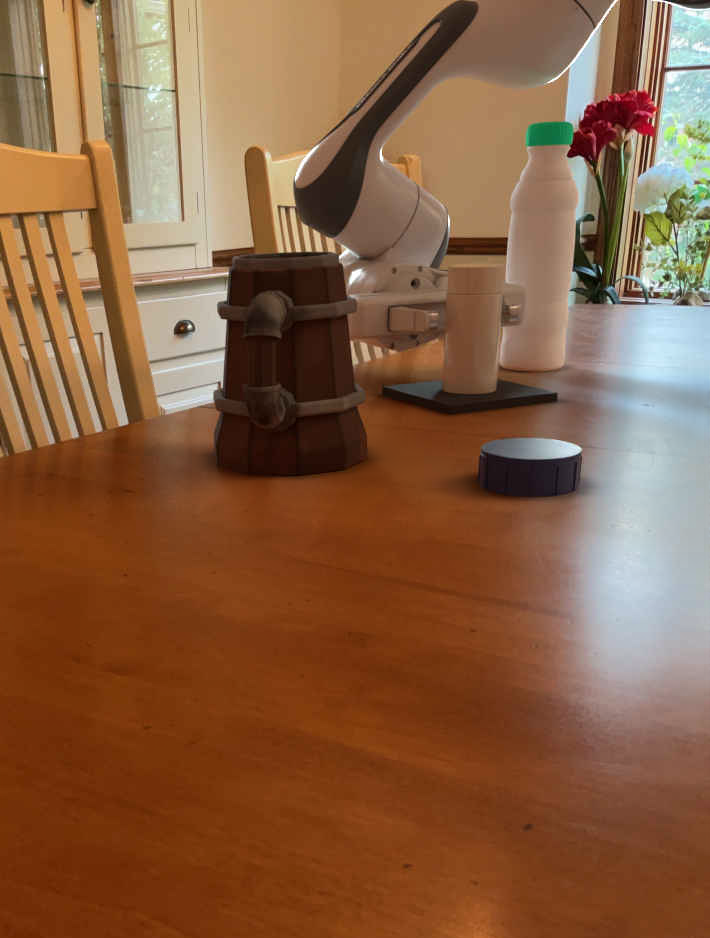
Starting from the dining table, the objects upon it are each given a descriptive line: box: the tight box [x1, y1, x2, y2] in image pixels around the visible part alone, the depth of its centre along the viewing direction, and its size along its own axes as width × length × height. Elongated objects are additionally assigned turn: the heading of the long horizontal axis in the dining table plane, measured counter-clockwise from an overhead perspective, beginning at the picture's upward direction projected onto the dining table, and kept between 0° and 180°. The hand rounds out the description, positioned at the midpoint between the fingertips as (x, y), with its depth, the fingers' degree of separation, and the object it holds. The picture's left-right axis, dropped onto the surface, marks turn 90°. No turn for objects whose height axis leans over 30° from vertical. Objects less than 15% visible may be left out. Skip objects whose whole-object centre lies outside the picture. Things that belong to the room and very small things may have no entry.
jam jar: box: [441, 262, 504, 394], centre depth 99 cm, size 5×5×11 cm
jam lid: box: [477, 437, 583, 498], centre depth 71 cm, size 7×7×3 cm
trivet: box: [381, 378, 559, 416], centre depth 101 cm, size 12×12×1 cm
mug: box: [212, 251, 368, 477], centre depth 76 cm, size 16×12×15 cm
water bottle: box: [499, 121, 580, 372], centre depth 113 cm, size 7×7×25 cm
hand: (474, 317), depth 98 cm, fingers open, 8 cm apart
